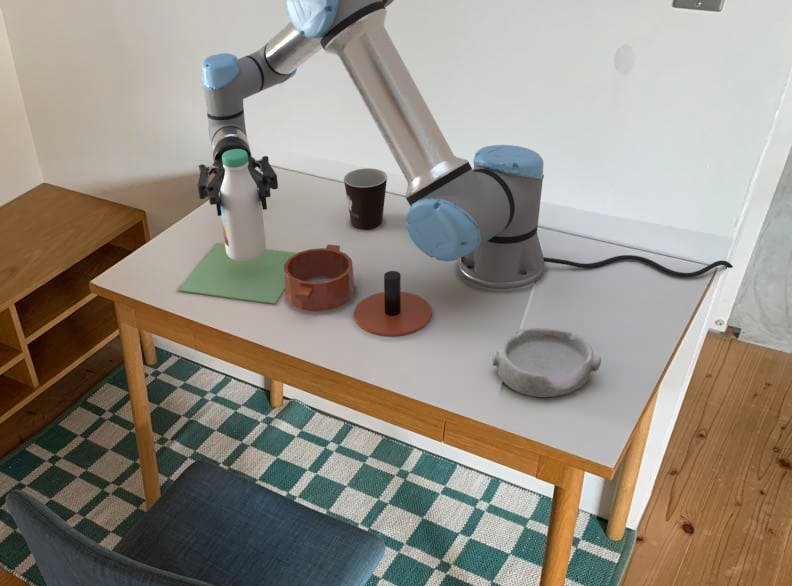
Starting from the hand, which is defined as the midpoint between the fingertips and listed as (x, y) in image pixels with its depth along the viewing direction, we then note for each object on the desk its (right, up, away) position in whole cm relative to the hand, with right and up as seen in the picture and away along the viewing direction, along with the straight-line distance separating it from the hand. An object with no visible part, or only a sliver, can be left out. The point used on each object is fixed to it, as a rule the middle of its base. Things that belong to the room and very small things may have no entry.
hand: (241, 205), depth 164 cm
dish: (+48, -31, -19) cm, 60 cm away
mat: (0, -10, +15) cm, 18 cm away
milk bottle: (+1, -6, +12) cm, 13 cm away
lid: (+27, -20, -3) cm, 33 cm away
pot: (+15, -15, +6) cm, 22 cm away
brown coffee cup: (+26, +3, +27) cm, 37 cm away
